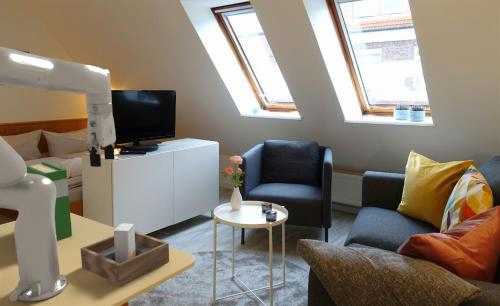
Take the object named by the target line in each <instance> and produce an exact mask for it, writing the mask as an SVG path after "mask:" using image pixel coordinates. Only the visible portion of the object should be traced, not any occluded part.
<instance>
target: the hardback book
mask: <svg viewBox="0 0 500 306" xmlns="http://www.w3.org/2000/svg"><path fill="white" fill-rule="evenodd" d="M26 166H27V173H30V174H37V175H42V176H45V177H47V178H49V179H50V180H51V181H52V182H53V183H54V184H55V187H56V202H55V229H56V238H57V242H58V241H61V240H63V239H68V238H71V237H73V229H72V220H71V219H72V218H71V208H70V195H69V183H68V174H67V169H66V168H62V167H59V166H57V165H55V164H52V163H49V162H47V161H41V163H40V164H34V165H28V164H26Z"/></svg>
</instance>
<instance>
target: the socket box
mask: <svg viewBox="0 0 500 306" xmlns="http://www.w3.org/2000/svg"><path fill="white" fill-rule="evenodd" d="M134 231H135V253H136V256H135V257H133V258H131V259H129V260H126V261H124V262H122V263H117V262H115V245H114V235H112V236H109V237H107V238H104V239H102V240H98V241H96V242H94V243H90V244H89V245H85V246H83V247H81V248H80V257H81V259H80V260H81V267H82V268H83V269H85V270H86V271H89V272H91V273H93V274H94V275H97V276H99V277H100V278H102V279H105V280H106V281H109V282H111V283H112V284H115V285H116V286H118V287H121V286H125V284H127V283H129V282H131V281H134V280H135V279H137V278H140V277H142V276H144V275H145V274H147V273H150V272H151V271H153V270H155V269H158V268H160V267H161V266H163V265H165V264H167V263H169V262H170V246H169V242H166V241H163V240H161V239H158V238H155V237H153V236H150V235H147V234H145V233H142V232H139V231H136V230H134Z"/></svg>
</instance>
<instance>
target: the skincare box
mask: <svg viewBox="0 0 500 306" xmlns="http://www.w3.org/2000/svg"><path fill="white" fill-rule="evenodd" d="M135 231H136V230H135V223H127V222H125V223H124V222H122V223H120V224H119V225H117V227H116V228H115V229H114V230H113V236H114V245H115V262H117V263H122V262H124V261H126V260H129V259H131V258H133V257H135V256H136V253H135Z"/></svg>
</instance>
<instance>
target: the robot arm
mask: <svg viewBox="0 0 500 306" xmlns="http://www.w3.org/2000/svg"><path fill="white" fill-rule="evenodd" d="M1 85H2V86H9V87H10V86H11V87H16V88H23V89H31V90H37V91H46V92H49V91H50V92H65V93H67V94H71V95H84V96H85V108H86V115H87V140H86V141H85V142H86V143H85V144H86V146H87V151H88V154H89V163H90V164H89V165H90V167H92V168H93V167H94V168H95V167H96V168H100V167H102V157H101V153H100V150H101V147H102V148H103V153H104V156H103V157H104V160H107V161H108V160H110V161H113V160H115V159H116V158H115V143H116V141H117V140H116V139H117V137H116V128H115V126H116V125H115V120H114V116H113V103H112V101H113V100H112V87H111V86H112V83H111V73H110V71H109V70H108V69H106V68H100V67H98V66H95V65H89V64H85V63H80V62H73V61H68V60H63V59H58V58H52V57H47V56H42V55H37V54H35V53H34V54H32V53H30V52H26V51H21V50H17V49H13V48H8V47H6V46H5V47H3V46H0V86H1ZM26 165H27V164H26V162H25V160H24V159H23V158H22V156H21V155H20V154H19V153H18V152H17V151H16V150H15V149H14V148H13V147H12V146H11V145H10V144H9V143H8V142H7V141H6V140H5V139H4V138H3V136H1V135H0V209H7V210H13V211H18V216H17V218H16V221H15V223H14V226H13V235H14V243H15V244H14V245H15V252H16V261H17V268H18V277H19V281H17V284H16V286H15V287H14V290H13V292H12V293H10V294H9V300H10V301H12V302H16V301H17V300H20V301H23V302H37V301H41V300H47V299H49V298H50V299H51V298H52V297H55V296H56V295H59V294H60V293H61V292H63V291H64V290H65V289H66V288H67V285H68V279H67V277H66V276H64V275H63V274H61V271H60V262H59V261H60V260H59V252H58V251H59V250H58V241H57V238H56V229H55V202H56V187H55V184H54V183H53V182H52V181H51V180H50V179H49V178H47V177H45V176H42V175H37V174H30V173H27V166H26Z"/></svg>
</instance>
